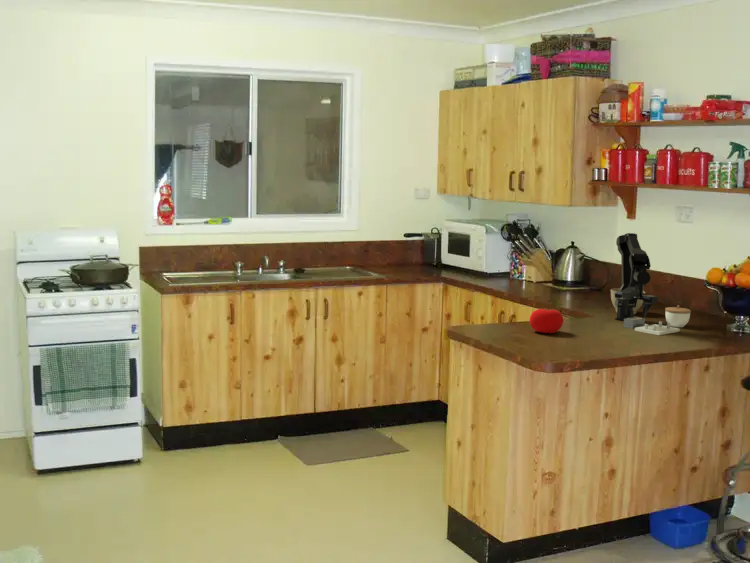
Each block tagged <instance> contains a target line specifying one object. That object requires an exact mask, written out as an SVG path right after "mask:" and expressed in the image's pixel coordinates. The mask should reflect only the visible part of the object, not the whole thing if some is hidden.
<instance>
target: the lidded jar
mask: <svg viewBox="0 0 750 563" xmlns="http://www.w3.org/2000/svg"><path fill="white" fill-rule="evenodd" d="M664 310H665V311H664V312H665V315H664V316H665V320H666V323H670V327H673V328H684V327H685V326H686V325H687V324H688V323H689V321H690V318H691V312H692V310H691V309H689V308H686V307H680V305H679V304H678V305H676V306H668V307H665V309H664Z"/></svg>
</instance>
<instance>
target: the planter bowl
mask: <svg viewBox="0 0 750 563" xmlns="http://www.w3.org/2000/svg"><path fill="white" fill-rule="evenodd" d="M620 288H621V287H620ZM620 288H619V287H618V288H611V289H610V299H611V302H612V305H613V307H614V309H615V313H617V306H615V300H616V298H615V292H616V291H619V290H620ZM643 293H645V295H643V296H646V292H645V291H644V290H643ZM638 298H640V297H638ZM642 303H644V301H643V300H639V299H638V300H637V304H636V308H634V307H633V315H636V314H637V312H638V310H639V309H640V308H641V307H642V306H643V304H642ZM619 304H620V303H619ZM629 305H632V304H629Z"/></svg>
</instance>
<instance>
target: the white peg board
mask: <svg viewBox="0 0 750 563" xmlns="http://www.w3.org/2000/svg"><path fill="white" fill-rule="evenodd" d="M680 330H681V329H680V328H679V327H672V326H670V323H668V322H666V325H663V321H658V324H656V323H655V324H650V325H649V324H648V323H645V324H644V326H642V327H636V328H635V329H634V331H635V332H640V333H645V334H650V335H657V336H663V335H668V334H673V333H678V332H680Z"/></svg>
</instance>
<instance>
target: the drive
mask: <svg viewBox="0 0 750 563" xmlns="http://www.w3.org/2000/svg"><path fill="white" fill-rule="evenodd" d="M645 322H646V319H645V318H643V317H638V316H633V317H632V318H624V321H623V328H627V329H631V330H635V328H636V327H642V326H645V324H646V323H645Z"/></svg>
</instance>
